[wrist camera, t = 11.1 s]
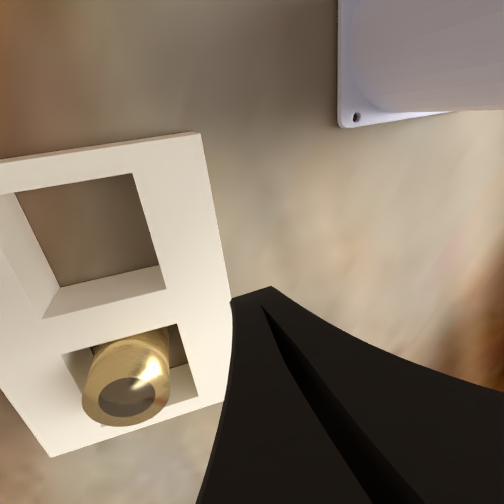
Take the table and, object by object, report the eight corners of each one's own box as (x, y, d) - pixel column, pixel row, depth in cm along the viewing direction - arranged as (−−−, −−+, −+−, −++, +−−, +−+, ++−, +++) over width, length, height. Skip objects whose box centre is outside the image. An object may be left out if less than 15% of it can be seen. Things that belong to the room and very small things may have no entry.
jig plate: (193, 131, 15) (200, 133, 12) (238, 359, 22) (248, 392, 19) (-83, 171, 13) (-147, 185, 10) (65, 412, 20) (50, 457, 17)
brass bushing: (143, 294, 18) (137, 352, 13) (180, 335, 20) (185, 397, 15) (86, 329, 18) (61, 398, 13) (128, 367, 20) (119, 438, 15)
